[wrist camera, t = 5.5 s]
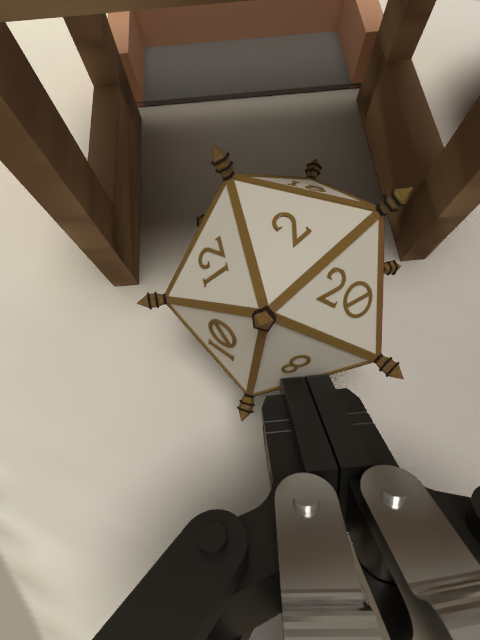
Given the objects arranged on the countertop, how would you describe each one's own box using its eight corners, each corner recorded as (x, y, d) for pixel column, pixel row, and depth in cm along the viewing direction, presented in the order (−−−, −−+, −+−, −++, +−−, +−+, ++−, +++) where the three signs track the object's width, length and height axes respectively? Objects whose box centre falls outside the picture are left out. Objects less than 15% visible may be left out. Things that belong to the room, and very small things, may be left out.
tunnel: (381, 97, 20) (557, -356, 9) (430, 258, 17) (849, -150, 5) (116, 120, 20) (-63, -303, 9) (108, 286, 16) (-221, -59, 5)
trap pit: (350, 22, 22) (365, -38, 20) (369, 86, 20) (388, 30, 18) (127, 42, 22) (110, -15, 20) (125, 107, 20) (105, 55, 18)
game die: (296, 321, 20) (484, 213, 12) (260, 467, 14) (553, 429, 7) (168, 221, 17) (311, 10, 10) (65, 356, 12) (210, 111, 4)
